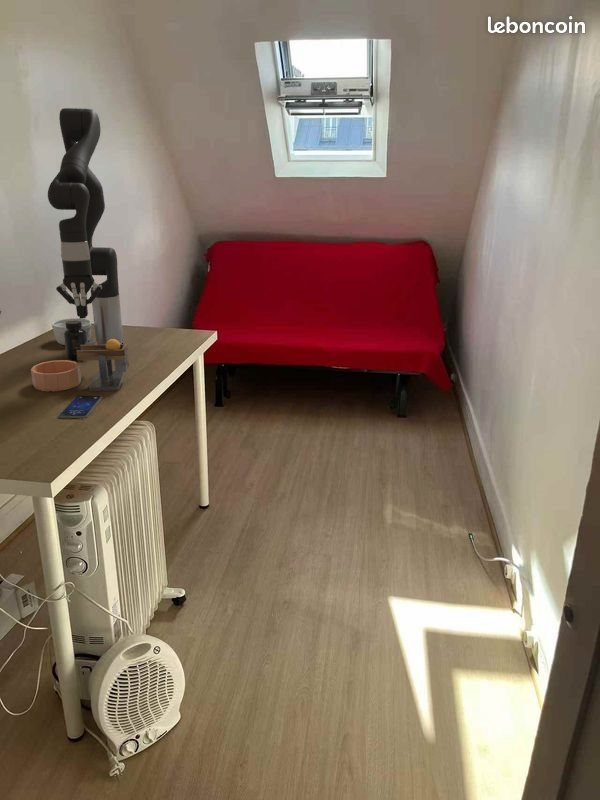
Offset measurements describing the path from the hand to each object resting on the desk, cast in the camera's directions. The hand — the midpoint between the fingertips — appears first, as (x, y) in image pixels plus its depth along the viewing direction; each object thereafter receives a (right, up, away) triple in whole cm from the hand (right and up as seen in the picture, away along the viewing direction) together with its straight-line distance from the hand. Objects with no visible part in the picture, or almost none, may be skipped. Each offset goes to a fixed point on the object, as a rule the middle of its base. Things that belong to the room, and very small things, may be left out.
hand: (82, 317), depth 175 cm
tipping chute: (+6, -14, +2) cm, 15 cm away
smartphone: (+6, -27, -18) cm, 32 cm away
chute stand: (+7, -19, 0) cm, 20 cm away
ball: (+10, -9, -4) cm, 14 cm away
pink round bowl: (-7, -19, -2) cm, 21 cm away
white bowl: (-17, -3, +39) cm, 43 cm away
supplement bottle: (-9, -10, +21) cm, 25 cm away
